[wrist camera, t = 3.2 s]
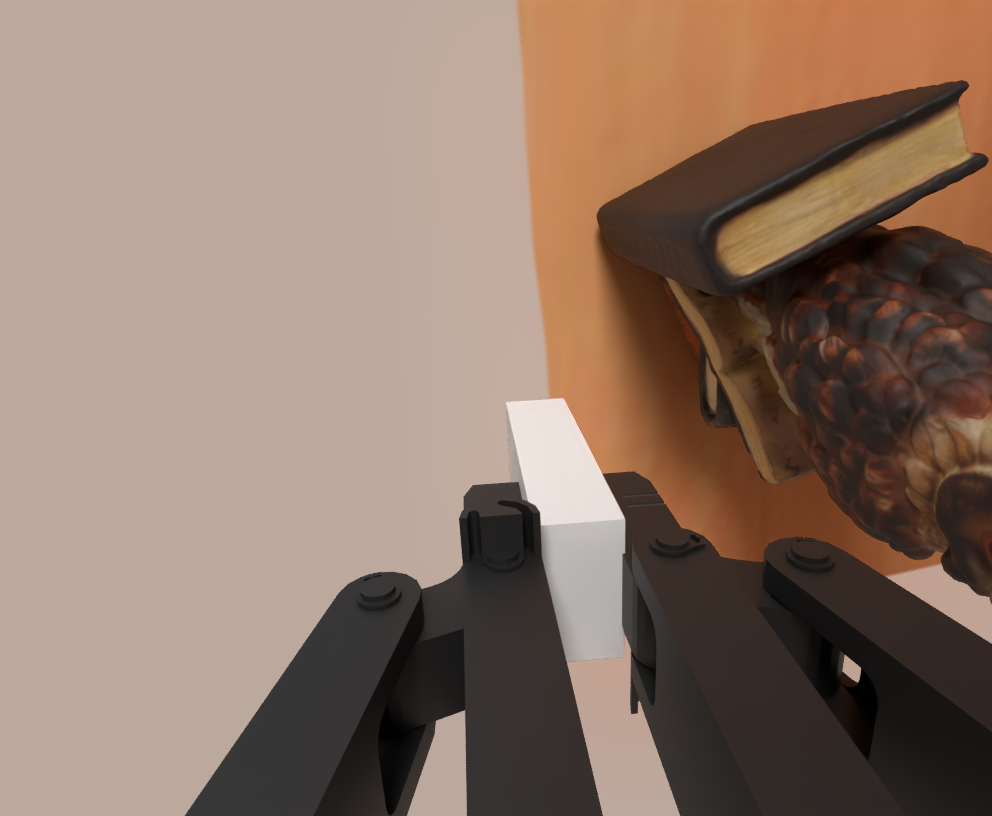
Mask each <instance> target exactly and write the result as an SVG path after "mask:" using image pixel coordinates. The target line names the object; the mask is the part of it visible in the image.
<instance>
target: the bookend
mask: <svg viewBox="0 0 992 816" xmlns="http://www.w3.org/2000/svg"><path fill="white" fill-rule="evenodd" d="M968 87H969V84H968V83H967V82H966V81H963V80H961V81H957V82H946V83H943V84H940V85H932V86H927V87H918V88H916V89H909V90H904V91H899V92H895V93H892V94H889V95H886V94H885V95H882V96H879V97H871V98H868V99H864V100H863V99H861V100H857V101H853V102H847V103H843V104H838V105H834V106H830V107H827V108H821V109H818V110H812V111H807V112H805V113H799V114H794V115H790V116H786V117H783V118H779V119H776V120H770V121H765V122H761V123H757V124H753V125H750V126H748V127H747V128H745V129H743V130H741V131H739V132H737V133H735V134H734V135H732V136H730V137H728V138H726V139H724V140H722V141H721V142H719V143H717V144H715V145H713V146H711V147H709V148H707V149H705V150H703V151H701V152H699V153H697V154H695V155H693V156H691V157H689V158H688V159H686V160H684V161H683V162H681V163H679V164H677V165H676V166H674V167H672V168H670V169H668V170H667V171H665V172H664V173H662V174H660V175H658V176H656V177H654V178H653V179H651V180H648V181H646V182H645V183H643V184H642V185H640V186H637V187H635V188H634V189H632V190H630V191H628V192H626V193H624V194H623V195H621V196H619V197H618V198H615V199H613V200H611V201H610V202H608V203H606V204H605V205H603V206H602V207H601V208H600V209H599V211H598V213H597V221H598V224H599V227H600V229H601V232H602V234H603V236H604V238H605V241H606V243H607V245H608V247H609V248H610V250H611V251H612V253H614V254H615V255H617V256H619V257H621V258H623V259H625V260H627V261H629V262H631V263H633V264H635V265H637V266H640V267H642V268H645V269H647V270H649V271H652V272H654V273H656V274H659V276H660V279H661V281H662V283H663V286H664V289H665V292H666V294H667V297H668V299H669V301H670V303H671V306H672V308H673V310H674V312H675V314H676V316H677V318H678V321H679V323H680V325H681V327H682V330H683V332H684V334H685V336H686V338H687V340H688V342H689V344H690V346H691V348H692V350H693V352H694V354H695V356H696V359H697V361H698V362H699V395H700V409H701V414H702V416H703V418H704V420H705V422H706V423H707V424H708V425H709V426H710V427H714V428H728V427H738V429H739V432H740V434H741V436H742V438H743V441H744V443H745V446H746V448H747V451H748V452H749V453H751V454H752V455H753V457H754V460H755V463H756V466H757V467H758V472H759V474H760V477H761V478H762V479H764V480H766V481H768V482H769V483H773V484H774V483H775V484H780V483H784V482H787V481H790V480H794V479H796V478H799V477H802V476H805V475H807V474H809V473H812V472H814V471H817V473H818V475H819V476H820V478H821V479H822V480H823V482H824V483H825V484H826V486H827V488H828V494H829V496H830V497H831V498H832V500H833V501H834V502H835V503H836V504H837V505H838V507H839V508H840V509H841V510H842V511H843V512H844V513H845V514H846V515H848V516H849V517H850V518H851V519H852V520H853V522H854V523H855V524H856V525H857V526H858V527H859V528H860V529H861V530H863V531H864V532H866V533H867V534H869V535H870V536H872V537H874V538H876V539H878V540H881V541H884V542H887V543H889V545H890V547H891V548H892V549H894V550H895V551H899V552H903V553H904V554H905V555H906V556H907V557H909V558H911V559H914V560H924V559H927V558H929V557H931V556H932V555H933V554H934V552H935V551H939V552H942V553H944V554H943V555H942V557H941V563H942V566H943V569H944V571H945V572H946V573H947V574H949V575H950V576H951V577H952V578H953V579H954V580H957V581H959V582H963V583H965V584H968V585H969V586H970V588H971V589H972V590H973V591H974V592H975V593H976V594H978V595H981V596H987V597H990V601H991V603H992V254H991V253H990V252H988V251H986V250H983V249H981V248H978V247H973V246H970V245H966V244H963V242H961V241H960V240H958V239H955V238H952V237H950V236H947V235H946V234H943V233H941V232H939V231H936V230H934V229H931V228H928V227H924V226H910V227H904V228H899V229H894V230H888V229H886V228H885V227H882V226H880V225H877V224H878V223H880V222H883V221H885V220H887V219H889V218H891V217H893V216H895V215H897V214H898V213H900V212H902V211H903V210H905V209H906V208H908V207H910V206H911V205H913V204H914V203H915V202H917V201H918V200H920V199H921V198H923V197H925V196H927V195H930V194H932V193H935V192H937V191H939V190H942V189H944V188H946V187H947V186H948V185H950V184H952V183H955V182H958V181H960V180H961V179H963V178H964V177H966V176H968V175H971V174H973V173H975V172H976V171H978V170H979V169H981V168H983V167H985V166H986V164H987V163H988V161H989V160H988V157H986V156H985V155H984V154H981V153H971V152H969V151H968V148H967V143H966V140H965V137H964V132H963V128H962V120H961V116H960V113H959V110H960V106H959V104H958V101H959V98H960V96H961V95H962V94H963V92H964V91H966V90H967V89H968Z"/></svg>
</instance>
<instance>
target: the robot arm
mask: <svg viewBox="0 0 992 816" xmlns="http://www.w3.org/2000/svg"><path fill="white" fill-rule="evenodd" d="M506 415H507V433H508V452H509V470H510V483H499V484H498V483H497V484H483V485H473V486H472V487H471V488H470V490H469V491H468V492H467V493H466V495H465V496H464V510H463V511H462V513H461V516H460V518H459V523H460V535H461V547H462V558H463V566H462V567H461V569H460V570H459V571H458V572H457V573H456V574H455V575H454V576H453V577H452V578H449V579H448V580H446V581H444V582H442V583H440V584H437V585H434V586H431V587H428V588H424V589H421V587H420V585H419V584H418V582H417V580H415V579H413V578H412V577H410V576H408V575H407V574H402V573H396V572H378V573H373V574H369V575H366V576H363V577H360V578H359V579H357V580H355V581H353V582H351V583H349V584H348V585H347V586H346V587H345V588H344V589H343V590H341V592H340V593H339V594H338V595H337V596H336V598H335V599H334V601H333V602H332V604H331V605H330V607H329V608H328V609H327V611H326V613H325V614H324V615H323V617H322V618H321V620H320V621H319V622H318V624H317V625H316V627H315V628H314V630H313V631H312V633H311V634H310V636H309V637H308V638H307V640H306V641H305V643H304V644H303V646H302V647H301V649H300V650H299V651H298V653H297V654H296V656H295V657H294V659H293V660H292V662H291V663H290V664H289V666H288V667H287V669H286V670H285V672H284V673H283V674H282V676H281V678H280V679H279V680H278V682H277V683H276V685H275V686H274V688H273V689H272V690H271V692H270V693H269V695H268V696H267V698H266V699H265V701H264V702H263V704H262V705H261V706H260V708H259V709H258V711H257V712H256V714H255V715H254V716H253V718H252V719H251V721H250V722H249V724H248V725H247V727H246V728H245V729H244V731H243V732H242V734H241V735H240V737H239V738H238V740H237V741H236V742H235V744H234V746H233V747H232V748H231V750H230V751H229V753H228V754H227V755H226V757H225V759H224V760H223V761H222V763H221V764H220V766H219V767H218V769H217V770H216V771H215V773H214V774H213V776H212V777H211V779H210V780H209V782H208V783H207V784H206V786H205V787H204V789H203V790H202V792H201V793H200V795H199V796H198V797H197V799H196V800H195V802H194V803H193V805H192V806H191V808H190V809H189V810H188V812H187V813H186V815H185V816H407V813H408V810H409V807H410V805H411V801H412V799H413V796H414V793H415V790H416V787H417V784H418V781H419V778H420V775H421V772H422V769H423V766H424V763H425V761H426V758H427V755H428V752H429V749H430V746H431V743H432V740H433V737H434V734H435V724H436V720H439V719H442V718H444V717H447V716H450V715H453V714H455V713H458V712H461V711H464V710H465V718H466V719H465V722H466V780H467V816H603V815H602V811H601V806H600V802H599V798H598V793H597V789H596V785H595V781H594V776H593V772H592V768H591V764H590V759H589V755H588V751H587V746H586V742H585V738H584V734H583V730H582V725H581V721H580V717H579V713H578V708H577V704H576V700H575V695H574V691H573V687H572V683H571V678H570V675H569V670H568V666H567V662H572V661H583V660H584V661H585V660H596V659H608V658H620V657H624V632H625V635H626V637H627V640H628V642H629V645H630V648H631V693H630V695H631V696H630V705H631V714H635V713H638V701H639V700H640V703H641V705H642V708H643V711H644V714H645V717H646V720H647V723H648V725H649V728H650V731H651V734H652V737H653V739H654V742H655V745H656V748H657V751H658V754H659V757H660V759H661V762H662V765H663V768H664V770H665V773H666V776H667V779H668V782H669V785H670V788H671V791H672V793H673V796H674V799H675V802H676V805H677V808H678V810H679V813H680V816H992V644H991V643H989V642H988V641H986V640H985V639H983V638H982V637H980V636H978V635H977V634H975V633H974V632H972V631H971V630H969V629H967V628H966V627H964V626H962V625H961V624H959V623H958V622H956V621H955V620H953V619H951V618H950V617H948V616H947V615H945V614H944V613H942V612H940V611H939V610H937V609H936V608H934V607H932V606H931V605H929V604H928V603H926V602H925V601H923V600H921V599H920V598H918V597H917V596H915V595H913V594H912V593H910V592H909V591H907V590H905V589H904V588H902V587H901V586H899V585H898V584H896V583H894V582H892V581H891V580H889V579H888V578H886V577H885V576H883V575H882V574H880V573H879V572H877V571H875V570H874V569H872V568H871V567H869V566H867V565H866V564H864V563H863V562H861V561H859V560H858V559H856V558H855V557H853V556H852V555H850V554H848V553H847V552H845V551H844V550H842V549H839V548H837V547H835V546H833V545H831V544H829V543H825V542H822V541H818V540H816V539H813V538H806V537H805V538H803V537H794V538H785V539H779V540H777V541H774V542H772V543H770V544H769V545H768V546H767V548H766V549H765V551H764V563H763V562H753V561H743V560H735V559H729V558H723V557H721V556H720V555H719V553H718V552H717V551H716V549H715V548H714V546H713V545H712V544H711V542H709V541H708V540H707V539H706V538H705V537H704V536H702V535H700V534H698V533H696V532H693V531H691V530H688V529H683V528H681V527H680V525H679V524H678V522H677V521H676V519H675V518H674V516H673V515H672V513H671V512H670V510H669V509H668V507H667V506H666V504H664V501H663V500H662V498H661V497H660V495H658V492H657V491H656V489H655V488H654V486H653V485H652V483H651V482H650V481H649V480H648V479H646V478H644V477H642V476H641V475H639V474H637V473H635V472H621V473H608V474H602V473H601V471H600V469H599V467H598V465H597V463H596V461H595V459H594V457H593V455H592V453H591V451H590V449H589V447H588V445H587V443H586V441H585V439H584V437H583V435H582V433H581V432H580V430H579V428H578V426H577V424H576V422H575V420H574V418H573V416H572V414H571V412H570V410H569V408H568V406H567V404H566V402H565V400H564V398H559V399H546V400H530V401H516V402H506ZM844 655H846V656H848V657H849V658H850V659H851V660H852V661H854V662H855V663H856V664H858V666H860V667H861V675H860V680H859V682H858V683H857V682H855V681H854V680H852V679H851V678H849V677H848V676H847V675H846V674H845V673H844V672H842V669H843V662H844Z"/></svg>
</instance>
